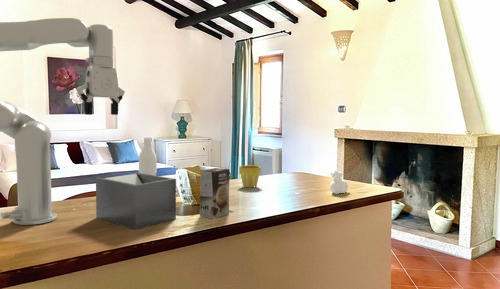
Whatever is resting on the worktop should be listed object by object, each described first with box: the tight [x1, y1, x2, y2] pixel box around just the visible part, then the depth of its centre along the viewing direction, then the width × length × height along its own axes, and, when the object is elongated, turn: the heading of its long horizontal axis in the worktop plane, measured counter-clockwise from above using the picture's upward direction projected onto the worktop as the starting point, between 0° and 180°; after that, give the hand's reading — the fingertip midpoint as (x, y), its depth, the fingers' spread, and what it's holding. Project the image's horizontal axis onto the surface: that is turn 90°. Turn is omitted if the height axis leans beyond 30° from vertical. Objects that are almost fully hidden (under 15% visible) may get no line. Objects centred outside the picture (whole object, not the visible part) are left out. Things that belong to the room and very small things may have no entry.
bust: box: [329, 170, 349, 195], centre depth 179 cm, size 12×8×11 cm
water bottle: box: [138, 137, 158, 176], centre depth 157 cm, size 7×7×25 cm
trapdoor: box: [105, 173, 142, 185], centre depth 132 cm, size 13×14×1 cm
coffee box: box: [199, 167, 231, 220], centre depth 136 cm, size 9×6×16 cm
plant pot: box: [238, 164, 262, 188], centre depth 189 cm, size 10×10×10 cm
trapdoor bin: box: [95, 171, 177, 231], centre depth 130 cm, size 16×21×14 cm
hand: (101, 114), depth 132 cm, fingers open, 9 cm apart
